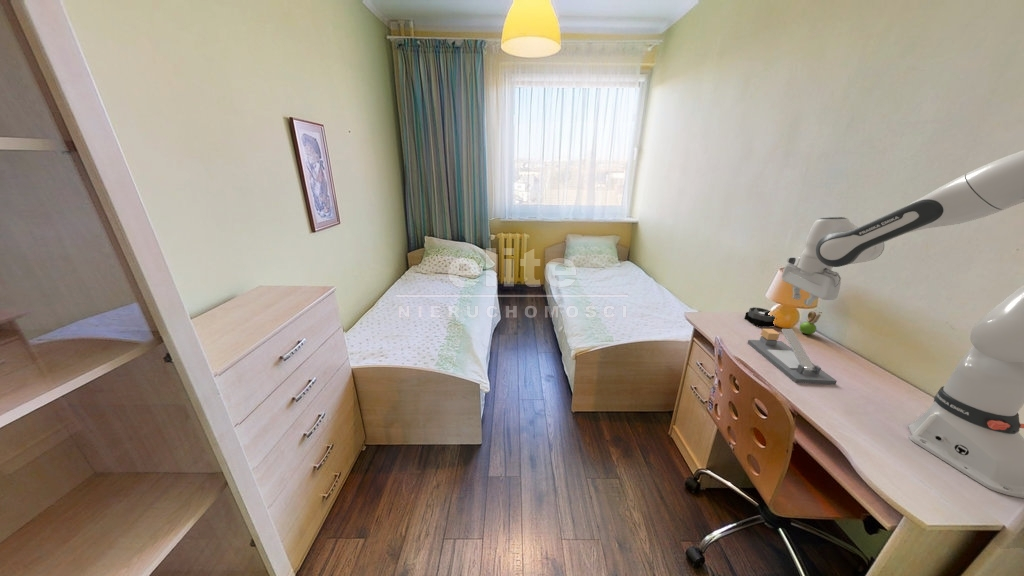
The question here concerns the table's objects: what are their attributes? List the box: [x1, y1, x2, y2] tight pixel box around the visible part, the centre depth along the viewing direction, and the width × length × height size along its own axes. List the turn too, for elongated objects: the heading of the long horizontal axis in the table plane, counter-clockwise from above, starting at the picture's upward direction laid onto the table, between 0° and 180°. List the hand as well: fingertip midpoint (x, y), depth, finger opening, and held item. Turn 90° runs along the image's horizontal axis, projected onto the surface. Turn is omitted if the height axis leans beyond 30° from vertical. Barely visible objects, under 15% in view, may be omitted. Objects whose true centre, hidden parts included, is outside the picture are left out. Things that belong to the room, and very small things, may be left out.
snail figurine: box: [799, 311, 823, 335], centre depth 140 cm, size 5×6×12 cm
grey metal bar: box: [781, 328, 816, 371], centre depth 117 cm, size 17×4×1 cm
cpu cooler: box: [743, 306, 775, 328], centre depth 151 cm, size 10×6×10 cm
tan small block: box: [760, 328, 781, 341], centre depth 130 cm, size 4×4×3 cm
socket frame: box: [747, 335, 838, 385], centre depth 121 cm, size 26×13×4 cm, turn 177°
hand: (801, 301), depth 116 cm, fingers open, 4 cm apart
